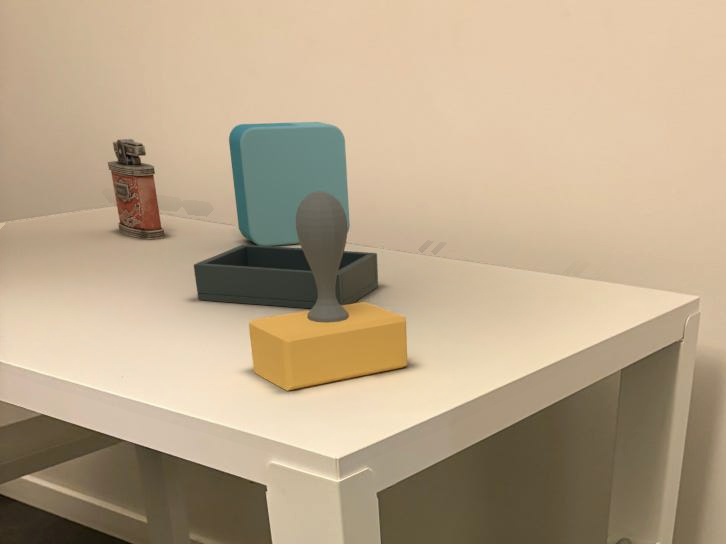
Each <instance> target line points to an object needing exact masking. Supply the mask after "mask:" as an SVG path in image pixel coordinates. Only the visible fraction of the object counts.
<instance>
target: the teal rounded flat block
mask: <svg viewBox="0 0 726 544" xmlns="http://www.w3.org/2000/svg"><path fill="white" fill-rule="evenodd" d="M228 145H229V152H230V153H229V154H230V162H231V172H232V180H233V189H234V198H235V207H236V215H237V224H238V230H239V232H240V234H241V235H242V237H243V238H245V239H247V240H248V241H249V242H252V243H254V245H255V244H256V245H259V246H274V247H278V246H287V245H289V246H290V245H300V242H299V239H298V235H297V230H296V213H297V210H298V207H299V205H300V203H301V201H302V200H303V199H304V198H305V197H306V196H307V195H309V194H311V193H312V192H318V191H321V192H327V193H329V194H331V195H332V196H334V197H335V198H336V199H337V200H338V201H339V202H340V204H341V205H342V207H343V209H344V211H345V214H346V218H347V228H348V230H347V234H349V230H350V227H351V225H350V223H351V221H350V207H349V205H350V203H349V190H348V189H349V187H348V171H347V152H346V138H345V135H344V133H343V131H342V130H341V129H340V128H339V127H338V126H337V125H334V124H330V123H326V122H321V121H299V122H298V121H296V122H295V121H294V122H269V123H268V122H267V123H266V122H265V123H241V124H238V125H236V126H234V127H233V128H232V129H231V130H230V133H229V136H228Z"/></svg>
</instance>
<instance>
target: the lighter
mask: <svg viewBox="0 0 726 544" xmlns="http://www.w3.org/2000/svg"><path fill="white" fill-rule="evenodd" d="M112 145H113V152H114V153H115V156H116V159H117V160H113V161H107V167H108V170H109V171H110V174H111V179H112V185H113V186H112V187H113V190H114V191H113V192H114V198H115V202H116V203H115V204H116V208H117V214H118V220H119V222H118V229H119V232H120V233H122V234H123V235H126V236H130V237H133V238H138V239H142V240H143V239H144V240H157V239H163V238H165V237H166V236H165V230H164V227H162V222H161V215H160V208H159V201H158V195H157V190H156V189H157V188H156V183H155V176H154V175H156V170H155V166H153V164H148V163H145V162H142V160H141V157H146V156H147V153H146V146H145V145H143V143H142V142H137V141H135V140H134V138H133V139H132V138H124V139H117V140H116V141H112Z"/></svg>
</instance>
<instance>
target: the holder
mask: <svg viewBox="0 0 726 544" xmlns="http://www.w3.org/2000/svg"><path fill="white" fill-rule="evenodd" d="M193 271H194V279H195V285H196V292H197V299H198V301H205V302H207V301H208V302H218V303H219V302H220V303H221V302H222V303H232V304H236V303H237V304H246V305H258V306H260V305H261V306H272V307H284V308H285V307H286V308H297V309H308V310H309V309H310V310H311V309H312V308H313V306H314V305H315V304H316V301H317V298H318V290H317V285H316V281H315V278H314V275H313V273H312V270H311V268H310V266H309V263H308V261H307V259H306V257H305V254H304V252H303V250H302V247H287V246H259V245H257V244H256V245H255V244H241V245H238V246H236V247H233V248H231V249H229V250H226V251H223V252H221V253H218V254H216V255H213V256H211V257H209V258H206V259H204V260H202V261H198V262H197V263H193ZM378 287H379V268H378V253H377V252H365V251H349V250H344V252H343V256H342V259H341V262H340V266H339V269H338V273H337V277H336V284H335V293H336V298H337V300H338V303H339V304H340V305H348V304H354V303H356V302H357V301H359V300H360V299H361V298H363V297H365V296H366V295H368V294H370V293H371V292H372V291H374V290H376V289H377V288H378Z"/></svg>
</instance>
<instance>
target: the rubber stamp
mask: <svg viewBox="0 0 726 544" xmlns="http://www.w3.org/2000/svg"><path fill="white" fill-rule="evenodd" d="M296 230H297V235H298V239H299V242H300V244H299V245H300V248H302V250H303V252H304V254H305V257H306V259H307V261H308V263H309V266H310V268H311V270H312V273H313V275H314V278H315V281H316V285H317V290H318V298H317V301H316V304H315V305H314V306H313V308H312V309H310V310H309V309H308V310H304V311H297V312H290V313H285V314H278V315H272V316H266V317H259V318H253V319H252V320H251V321H249V323H248V331H249V339H250V348H251V357H252V366H253V367H252V368H253V373H254V374H255V375H257V376H259V377H260V378H263V379H265V380H266V381H268V382H270V383H271V384H273V385H276V386H277V387H279V388H281V389H283V390H284V391H287V392H289V391H293V390H299V389H303V388H308V387H313V386H318V385H322V384H327V383H332V382H337V381H338V382H339V381H343V380H348V379H352V378H357V377H363V376H367V375H373V374H377V373H383V372H387V371H393V370H398V369H402V368H405V367H407V366H408V343H407V342H408V338H407V337H408V336H407V335H408V334H407V319H406V316H403V315H400V314H398V313H396V312H393V311H390V310H388V309H385V308H382V307H379V306H377V305H374V304H372V303H370V302H365V301H360V302H354V303H352V304H348V305H340V304H339V303H338V300H337V298H336V293H335V284H336V277H337V273H338V269H339V266H340V262H341V259H342V256H343V252H344V251H345V250H346V249H345V248H346V244H347V239H348V233H347V230H348V228H347V218H346V214H345V211H344V209H343V207H342V205H341V204H340V202H339V201H338V200H337V199H336V198H335V197H334V196H332V195H331V194H329V193H327V192H321V191H318V192H312V193H311V194H309V195H307V196H306V197H305V198H304V199H303V200H302V201H301V203H300V205H299V207H298V210H297V213H296Z"/></svg>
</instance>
